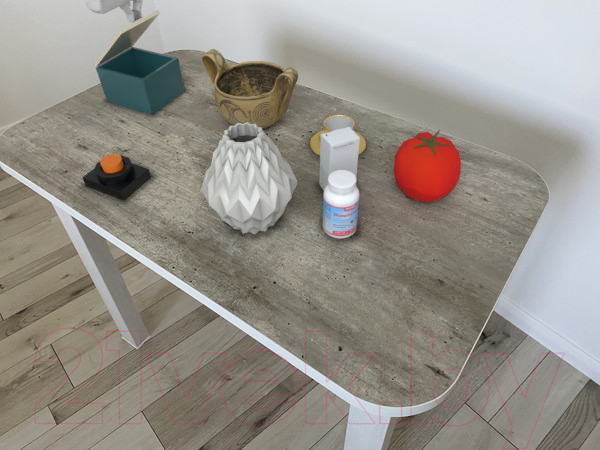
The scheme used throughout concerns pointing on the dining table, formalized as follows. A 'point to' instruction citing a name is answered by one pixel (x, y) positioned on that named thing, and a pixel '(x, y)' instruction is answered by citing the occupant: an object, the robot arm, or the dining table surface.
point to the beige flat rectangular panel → (126, 38)
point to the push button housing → (118, 179)
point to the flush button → (112, 163)
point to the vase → (248, 179)
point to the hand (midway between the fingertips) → (135, 19)
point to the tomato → (427, 167)
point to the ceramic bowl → (250, 89)
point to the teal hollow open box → (141, 79)
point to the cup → (334, 124)
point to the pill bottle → (340, 204)
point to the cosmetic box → (338, 153)
